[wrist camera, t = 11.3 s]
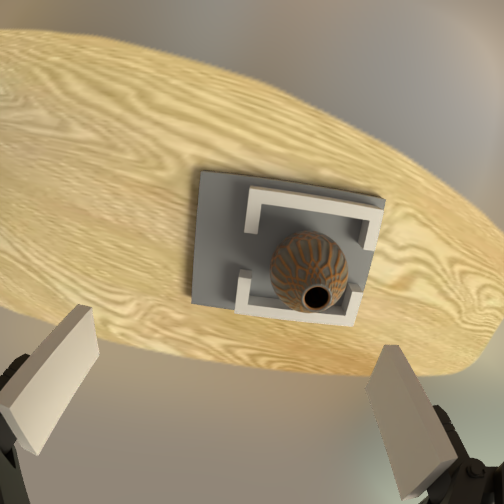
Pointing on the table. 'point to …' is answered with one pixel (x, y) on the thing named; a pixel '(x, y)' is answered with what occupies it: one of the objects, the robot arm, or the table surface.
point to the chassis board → (276, 241)
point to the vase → (308, 271)
